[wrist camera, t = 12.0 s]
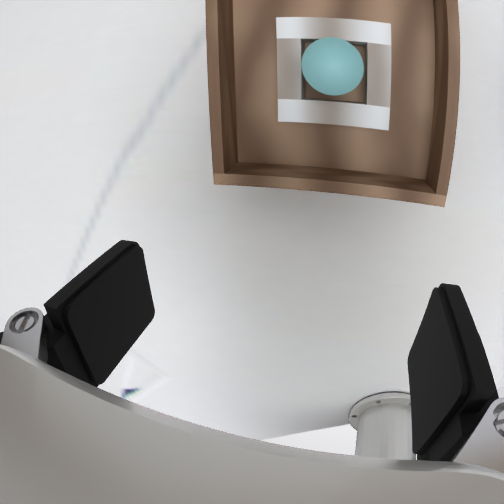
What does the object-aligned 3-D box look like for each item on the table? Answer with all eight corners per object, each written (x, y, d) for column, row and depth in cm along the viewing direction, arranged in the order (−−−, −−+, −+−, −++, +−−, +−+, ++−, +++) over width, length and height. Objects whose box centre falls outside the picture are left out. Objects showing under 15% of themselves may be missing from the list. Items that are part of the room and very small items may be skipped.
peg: (355, 54, 23) (363, 39, 14) (355, 93, 25) (363, 98, 16) (313, 51, 24) (300, 36, 15) (314, 90, 25) (301, 93, 17)
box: (439, -10, 18) (454, -24, 13) (430, 188, 28) (444, 207, 23) (225, -20, 22) (205, -34, 18) (231, 169, 32) (213, 184, 28)
